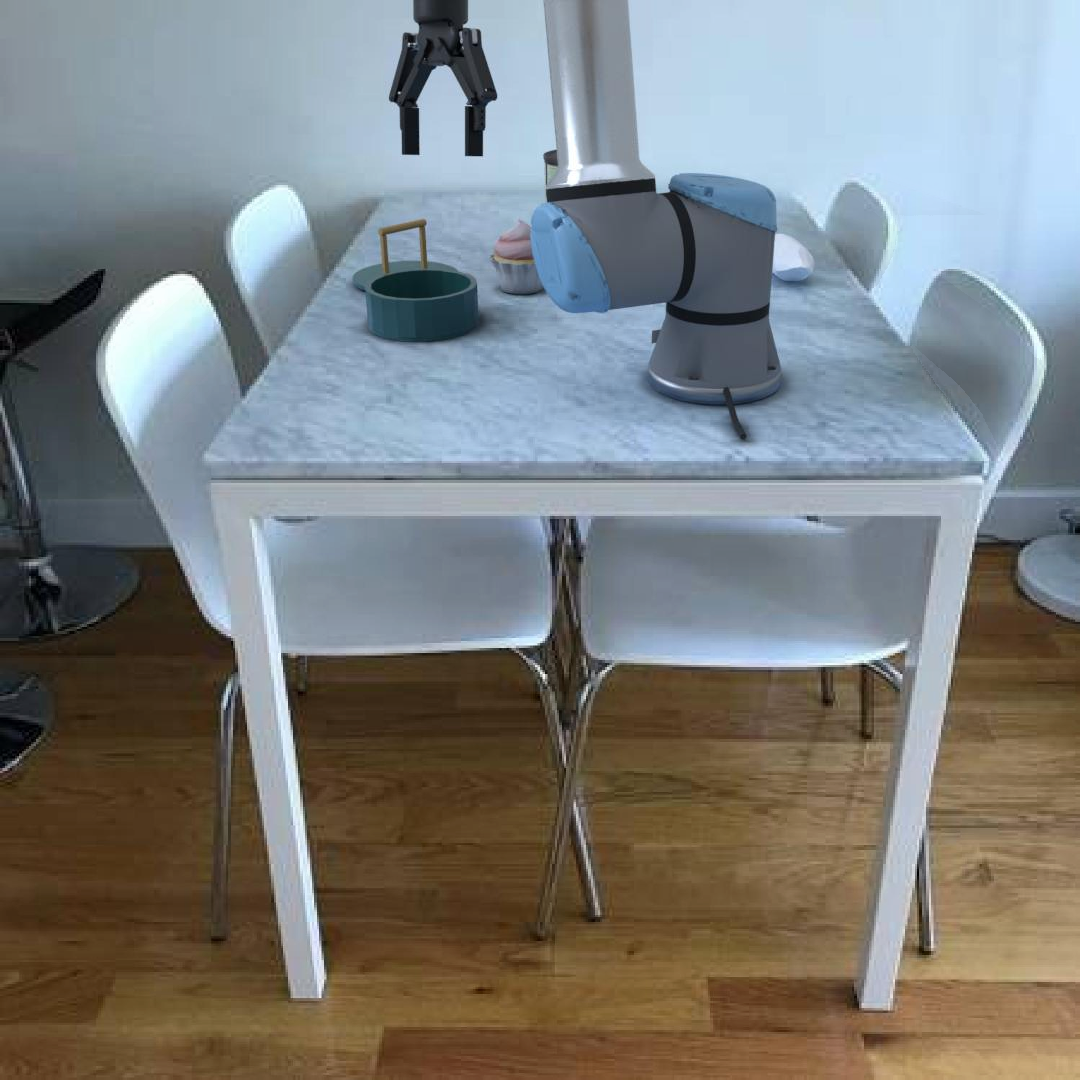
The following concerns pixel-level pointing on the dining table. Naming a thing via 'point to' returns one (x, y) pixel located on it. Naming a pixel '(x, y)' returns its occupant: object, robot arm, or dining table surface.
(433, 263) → the tin lid
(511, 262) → the cupcake
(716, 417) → the dining table surface
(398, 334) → the tin
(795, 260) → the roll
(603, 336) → the dining table surface
